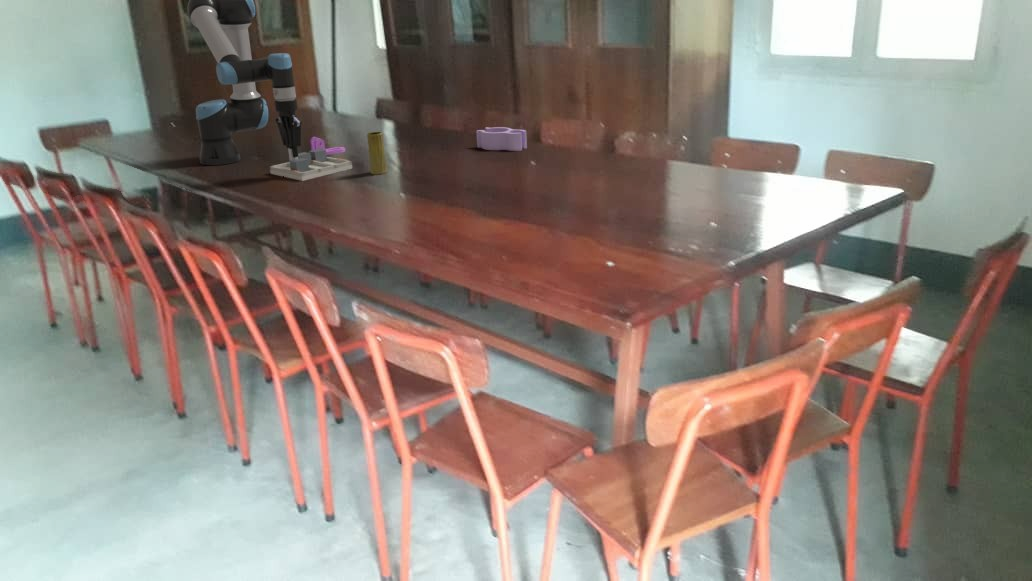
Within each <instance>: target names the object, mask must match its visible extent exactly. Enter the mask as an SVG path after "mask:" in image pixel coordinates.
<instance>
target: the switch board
mask: <svg viewBox="0 0 1032 581" xmlns="http://www.w3.org/2000/svg"><path fill="white" fill-rule="evenodd" d="M311 161H312V164H310V165H308V166H309V171H305V172H300V171H296V170H291V169H290V162H289V161H287V162H284V163H278V164H273V165H270V166H269V172H270V174H271V175H275V176H279V177H283V176H284V177H283V178H288V179H293V180H297V181H301V182H302V181H303V182H304V181H307V180H312V179H316V178H320V177H324V176H327V175H332V174H335V173H340V172H344V171H347V170H351V169H353V162H352V161H351V160H348V159H345V158H344V159H343V158H340V157H339V158H335V157H330V156H327V161H322V162H318V161H316V160H311Z"/></svg>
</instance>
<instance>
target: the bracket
mask: <svg viewBox="0 0 1032 581" xmlns="http://www.w3.org/2000/svg"><path fill="white" fill-rule="evenodd" d="M309 143H310V149H311V150H310V151H312V150H316V149H324V150H326V154H327V156H328V155H329V156H330V155H334V154H339V153H345V152H346V148H345V147H344V146H335V147H330V148H326V144H325V141H324V139H322V138H319V137H317V136H312V137H311V138H310V141H309Z"/></svg>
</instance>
